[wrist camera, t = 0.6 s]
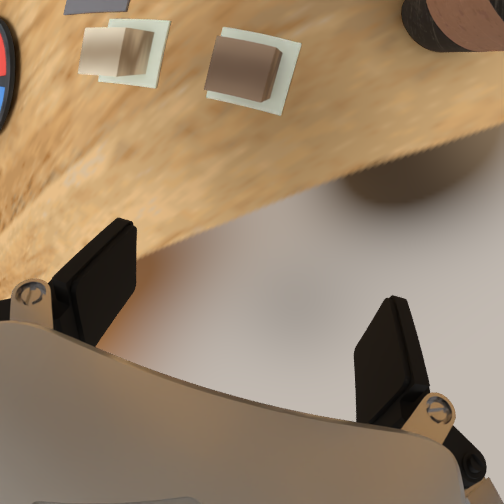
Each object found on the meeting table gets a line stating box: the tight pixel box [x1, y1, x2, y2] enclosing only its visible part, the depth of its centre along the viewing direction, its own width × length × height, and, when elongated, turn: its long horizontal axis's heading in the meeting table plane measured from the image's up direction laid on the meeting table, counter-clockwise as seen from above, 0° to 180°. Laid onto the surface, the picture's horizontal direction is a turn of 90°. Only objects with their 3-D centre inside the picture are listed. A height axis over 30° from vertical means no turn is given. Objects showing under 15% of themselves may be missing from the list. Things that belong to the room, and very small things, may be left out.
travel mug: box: [402, 0, 504, 52], centre depth 13 cm, size 8×8×20 cm
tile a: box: [206, 27, 302, 116], centre depth 28 cm, size 8×8×1 cm
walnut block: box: [204, 36, 283, 103], centre depth 26 cm, size 5×5×6 cm
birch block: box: [78, 27, 154, 77], centre depth 26 cm, size 5×5×6 cm
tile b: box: [98, 19, 171, 88], centre depth 29 cm, size 8×8×1 cm
